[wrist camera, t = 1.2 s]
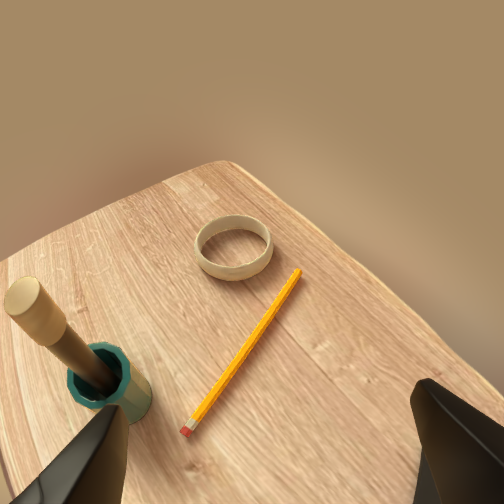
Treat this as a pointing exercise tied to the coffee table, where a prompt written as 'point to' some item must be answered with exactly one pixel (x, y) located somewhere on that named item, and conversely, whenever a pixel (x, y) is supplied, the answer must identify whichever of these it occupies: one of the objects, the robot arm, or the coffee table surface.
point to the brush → (57, 333)
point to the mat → (426, 485)
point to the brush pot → (129, 391)
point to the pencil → (240, 356)
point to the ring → (231, 223)
